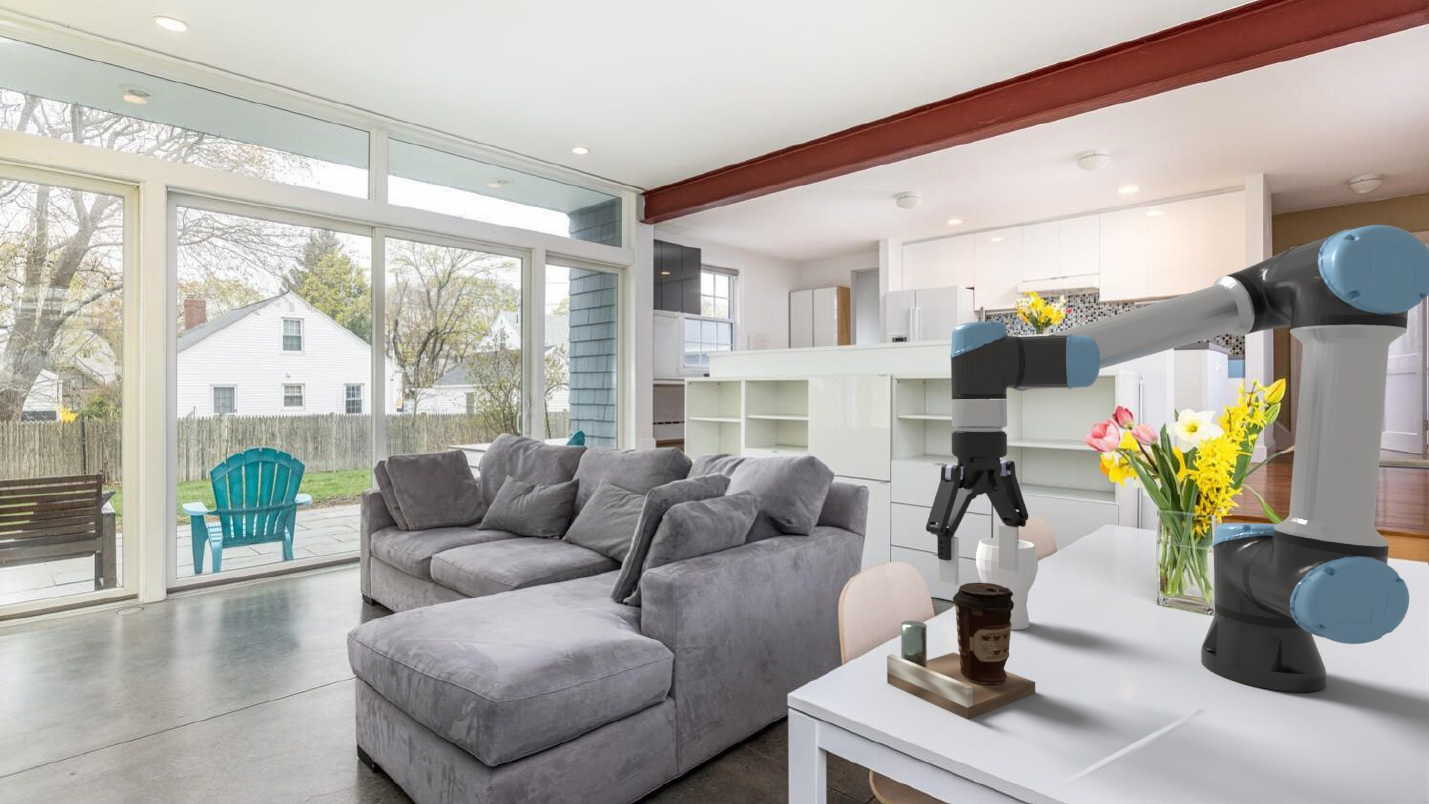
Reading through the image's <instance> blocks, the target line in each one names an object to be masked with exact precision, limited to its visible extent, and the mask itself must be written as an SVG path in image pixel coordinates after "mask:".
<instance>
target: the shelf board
mask: <svg viewBox="0 0 1429 804" xmlns="http://www.w3.org/2000/svg"><path fill="white" fill-rule="evenodd" d="M886 660H887V661H886V671H887V672H886V674H887V675H886V683H887V684H889V685H892V686H893V687H895V688H899V689H900V690H902V691H905V692H907V693H910V694H911V695H914V696H916V697H918V698H920V699H922V700H925V701H927V702H929V703H932V704H933V705H935V706H938V707H940V708H942V709H945V710H946V711H949V712H951V713H953V714H956V715H958V716H960V717H962V718H965V719H967V720H969V719H971V718H974V717H976V716H979V715H981V714H984V713H986V712H987V713H988V712H989V711H991V710H994V709H996V708H999V707H1002V706H1005V705H1007V704H1009V703H1013V702H1015V701H1018V700H1019V699H1022V698H1025V697H1027V696H1030V695H1033V694H1036V681H1034V680H1031V679H1029V678H1028V679H1027V678H1025V677H1023V676H1019V675H1017V674H1015V673H1012V672H1009V671H1006V670H1005V672H1006V675H1007V679H1006V680H1005V681H1004V682H1002V683H999V684H981V683H976V682H972V681H969V680H967V679H965V678H964V677H963V676H962V674H961V671H960V669H961V665H960V653H957V652H949V653H946V654H944V655H941V656H937V657H933V658H931V659H927V668H925V667H922V666H920V665H917V664H915V663H912V662H910V661H907V660H905V659H902V658H901V657H900V656H897V655H895V654H893V653H891V654H888V655H886Z"/></svg>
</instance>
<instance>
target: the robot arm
mask: <svg viewBox="0 0 1429 804" xmlns="http://www.w3.org/2000/svg"><path fill="white" fill-rule="evenodd" d="M1427 297H1429V248H1428V246H1427V245H1426V244H1425V243H1424V242H1422V241H1420V240H1419V239H1418V238H1417V237H1416V235H1415V234H1413V233H1411V232H1410V231H1408V230H1405V229H1403V228H1400V227H1396V226H1392V225H1386V224H1385V225H1384V224H1372V225H1365V226H1360V227H1358V228H1348V229H1343V230H1341V231H1339V232H1335V233H1334V234H1333V235H1331V236H1327V237H1324V238H1320V239H1318V240H1315V241H1311V242H1309V243H1305V244H1302V245H1299V246H1296V247H1293V248H1292V247H1291V248H1290V249H1287V250H1285V251H1283V252H1279V253H1277V254H1276V255H1273V256H1272V257H1269V258H1267V259H1265V260H1262V261H1261V262H1258V263H1256V264H1254V265H1251V266H1249V267H1247V268H1244V269H1241V270H1239V271H1236V272H1233V273H1230V274H1226V275H1224V276H1220V277H1218V278H1217V279H1216V280H1215V281H1214V282H1213V284H1212V286H1209V287H1206V288H1203V289H1198V290H1195V291H1192V292H1189V293H1185V294H1181V295H1178V296H1176V297H1172V298H1169V299H1165V300H1162V301H1159V302H1155V303H1151V304H1149V305H1148V304H1147V305H1145V306H1140V307H1139V308H1134V309H1133V310H1128V311H1125V312H1122V313H1119V314H1115V315H1111V316H1107V317H1105V318H1102V319H1098V320H1094V321H1092V322H1089V323H1085V324H1082V325H1079V326H1078V325H1077V326H1074V327H1070V328H1068V329H1064V330H1061V331H1057V332H1054V333H1051V334H1049V335H1038V336H1037V335H1032V336H1031V335H1028V336H1017V335H1016V336H1015V335H1009V334H1008V333H1009V332H1008V331H1007V326H1006V324H1004V322H1001V321H975V322H974V321H973V322H965V323H960V324H958V325H956V326H955V327H954V328H953V329H952V333H951V346H950V347H951V352H950V355H949V357H950V372H951V373H950V375H951V377H950V379H951V426H952V427H953V428H955V429H956V430H953V431H952V433H951V454H952V456H953V457H956V458H957V463H956V465H955V464H944V463H943V464H942V466H941V468H940V469H941V470H940V481H939V484H938V487H937V491H936V494H935V497H934V500H933V503H932V507H931V509H930V512H929V516H928V519H927V522H926V525H925V530H926V532H928V533H930V534H931V535H934V536H935V535H936V537H937V559H938V561H939V562H938V566H939V569H938V570H939V571H938V572H939V574H938V575H939V582H941V583H946V584H949V585H954V586H957V585H959V584H960V573H959V572H960V569H959V567H960V562H959V560H960V559H959V558H960V557H959V556H960V555H959V553H960V552H959V547H960V545H959V543H960V542H959V541H960V540H959V537H957V536H955V534H956V532H957V530H958V528H959V526H960V524H961V522H962V520H963V518H964V516H965V514H966V512H967V510H968V508H969V506H970V504H971V502H972V501H973V500H974V499H977V496H982V495H984V494H985V495H986V496H987V499H989V501H990V503H991V504H992V506H993V508H994V510H995V511H996V513H997V515H998V517H999V519H1000V520H1001V522H1002V523H1003V524H999V525H998V538H999V568H1002V569H1006V570H1011V571H1018V543H1019V542H1018V540H1019V527H1022V528H1024V527H1026V525H1027V521H1028V520H1029V513H1028V509H1027V507H1026V506H1027V505H1026V504H1025V500H1024V497H1023V495H1022V491H1021V488H1020V485H1019V481H1018V478H1017V476H1016V464H1015V461H1014V460H1007V459H1006V460H1003V459H1001V458H1005V457H1006V456H1007V455H1008V434H1007V433H1006V431H1003V429H1004V428H1006V427H1007V426H1008V402H1007V401H1008V400H1007V399H1008V398H1007V395H1008V394H1007V393H1008V391H1007V390H1008V389H1014V390H1015V391H1016V390H1017V391H1021V392H1023V391H1028V390H1036V389H1037V390H1040V389H1042V390H1043V389H1065V388H1066V389H1069V390H1071V389H1073V388H1075V389H1076V388H1088V387H1091V386H1093V384H1095V382H1096V380H1097V378H1098V377H1099V373H1100V370H1101V369H1104V368H1108V367H1112V366H1115V365H1119V364H1123V363H1126V362H1130V361H1133V360H1136V359H1140V358H1144V357H1147V356H1150V355H1155V354H1158V353H1162V352H1164V351H1165V352H1166V351H1169V350H1172V349H1177V348H1179V347H1182V346H1186V345H1190V344H1193V343H1197V342H1200V341H1204V340H1208V339H1212V338H1214V337H1219V336H1221V335H1226V334H1230V335H1233V336H1235V337H1241V336H1245V335H1249V334H1253V333H1257V332H1261V331H1269V330H1275V329H1283V328H1289V333H1290V334H1291V335H1292V336H1293V337H1294V338H1295V339H1297V340H1298V341H1299V342H1300V343H1301V344H1302V345H1301V346H1302V354H1301V356H1302V357H1301V367H1300V377H1299V379H1300V380H1299V391H1298V403H1297V414H1296V415H1297V416H1296V427H1295V437H1294V438H1295V439H1294V453H1293V462H1292V467H1293V468H1292V476H1291V477H1292V478H1291V488H1290V489H1291V490H1290V491H1291V492H1290V502H1289V515H1288V516H1287V517H1286V518H1285V519H1284V520H1282V521H1281V522H1279V523H1276V524H1275V523H1252V522H1251V523H1249V522H1245V523H1242V522H1225V523H1220V524H1219V525H1217V526H1216V528H1215V530H1214V536H1213V537H1214V539H1213V543H1212V548H1213V581H1214V582H1213V583H1214V584H1213V585H1214V586H1213V587H1214V588H1213V589H1214V591H1213V593H1214V594H1213V595H1214V601H1213V602H1214V616H1213V619H1212V621H1211V623H1210V626H1209V627H1208V630H1207V633H1206V635H1205V639H1204V640H1203V642H1202V645H1201V649H1200V650H1201V651H1200V652H1201V653H1200V655H1201V656H1200V657H1201V658H1200V663H1201V664H1202V666H1203V667H1204V668H1206V669H1207V670H1209V671H1210V672H1213V673H1214V674H1215V675H1218V676H1221V677H1223V678H1226V679H1229V680H1231V681H1235V682H1238V683H1242V684H1244V685H1245V684H1246V685H1250V686H1252V687H1253V686H1254V687H1257V688H1263V689H1268V690H1275V691H1282V692H1292V693H1293V692H1296V693H1307V692H1317V691H1320V690H1323V689H1325V687H1326V686H1327V671H1326V670H1327V669H1326V666H1325V664H1324V662H1323V659H1322V656H1321V654H1320V652H1319V648H1318V645H1317V644H1316V641H1315V639H1314V636H1317V637H1320V638H1325V639H1327V640H1330V641H1333V642H1336V643H1341V644H1345V645H1347V644H1349V645H1359V644H1360V645H1361V644H1362V645H1363V644H1367V643H1371V642H1375V641H1378V640H1380V639H1382V638H1383V636H1385V635H1386V634H1390V633H1392V632H1393V631H1394V630H1395V629H1397V628H1398V627H1399V626H1400V624H1402V622H1403V621H1404V619H1405V617H1406V615H1407V613H1408V610H1409V606H1410V593H1409V588H1408V586H1407V584H1406V581H1405V580H1404V579H1403V578H1401V577H1400V575H1399V573H1398V571H1397V570H1395V568H1393V567H1392V566H1390V565H1388V559H1389V547H1390V544H1389V541H1388V540H1387V539H1386V538H1385V536H1383V535H1381V534H1380V533H1379V532H1378V531H1377V529H1376V528H1375V522H1376V521H1375V520H1376V508H1377V506H1376V505H1377V497H1378V496H1377V495H1378V483H1379V473H1380V470H1379V469H1380V460H1381V446H1382V436H1383V435H1382V434H1383V433H1382V432H1383V422H1384V410H1385V399H1386V398H1385V397H1386V386H1387V385H1386V384H1387V375H1388V374H1387V373H1388V362H1389V350H1390V345H1391V344H1392V343H1394V342H1395V341H1396V340H1398V339H1399V338H1400V337H1401V336H1403V335H1405V334H1406V333H1407V329H1408V318H1409V311H1410V310H1411V309H1413V308H1414V307H1417V306H1418V305H1420V304H1421V303H1422V300H1424V299H1425V298H1427ZM1017 510H1018V511H1017ZM1313 635H1314V636H1313Z"/></svg>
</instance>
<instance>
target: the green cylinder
mask: <svg viewBox="0 0 1429 804" xmlns="http://www.w3.org/2000/svg"><path fill="white" fill-rule="evenodd" d="M900 627H901V628H900V629H901V631H900V632H901V633H900V635H901V637H900V641H901V645H900V646H901V649H900V653H901V655H900V656H901V657H900V658H902V659H905V660H907V661H910V662H912V663H915V664H917V665H920V666H922V667H925V668H927V660H928V657H927V656H928V655H927V654H928V649H927V648H928V647H927V645H928V644H927V642H928V639H927V638H928V637H927V635H928V634H927V632H928V631H927V630H928V629H927V627H928V626H927V624H926V623H924V622H921V621H917V620H904V621H902V622H901V624H900Z"/></svg>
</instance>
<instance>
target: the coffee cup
mask: <svg viewBox="0 0 1429 804" xmlns="http://www.w3.org/2000/svg"><path fill="white" fill-rule="evenodd" d="M1012 595H1013V593H1012V591H1010V589H1009V588H1005V587H1002V586H1000V585H996V584H992V583H983V582H967V583H964V584H961V585H960V586H959V589H958V592H956V593H955V594H954V596H953V597H952V601H953V603H954V607H955V615H956V617H955V619H956V632H957V645H958V652H959V654H960V665H961V669H960V671H961V674H962V676H963V677H964V678H965V679H967V680H969V681H972V682H976V683H981V684H999V683H1002V682H1004V681H1005V680H1006V679H1007V675H1006V672H1007V671H1006V670H1005V667H1006V663H1007V660H1008V658H1010V642H1011V630H1012V629H1011V626H1012V623H1011V622H1010V619H1011V610H1012V609H1013V608H1014V603H1013V601H1012V600H1011V597H1012ZM1005 671H1006V672H1005Z"/></svg>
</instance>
